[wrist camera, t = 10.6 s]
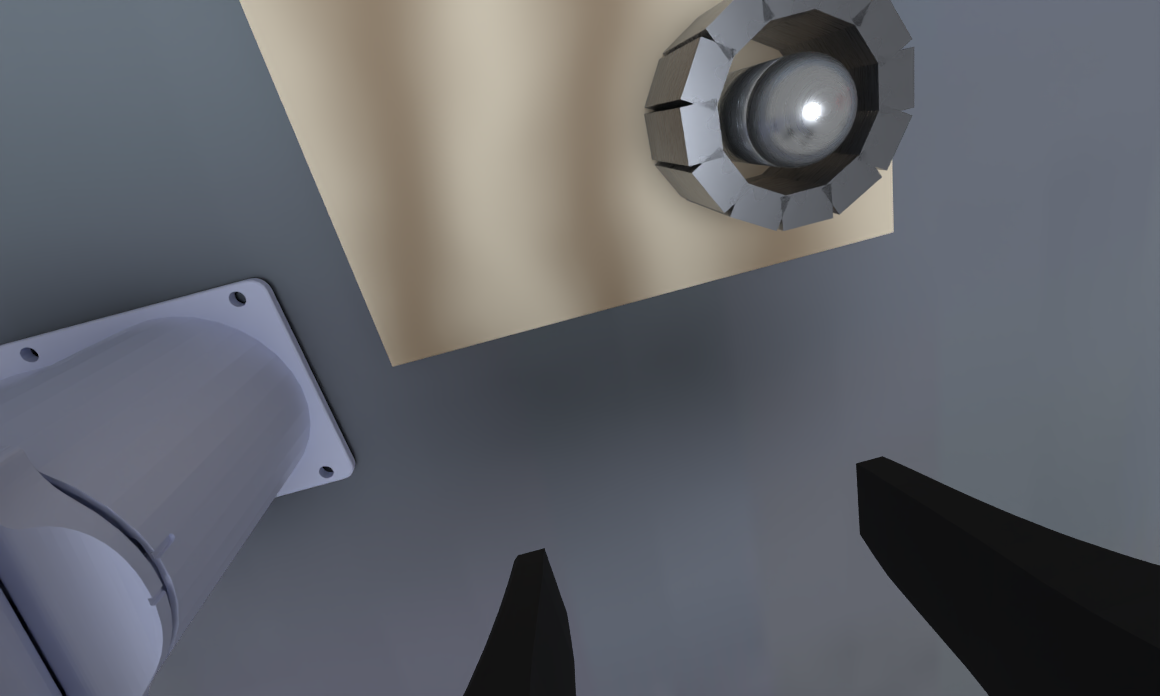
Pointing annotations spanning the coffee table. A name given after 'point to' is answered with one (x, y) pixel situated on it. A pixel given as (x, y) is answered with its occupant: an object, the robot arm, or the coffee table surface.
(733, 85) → the post
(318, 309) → the coffee table surface
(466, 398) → the coffee table surface
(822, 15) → the ring
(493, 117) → the board
